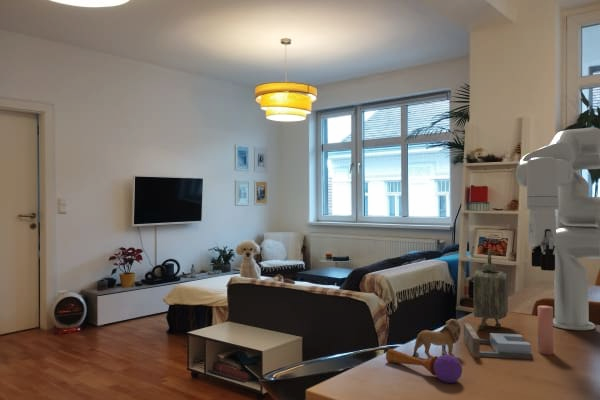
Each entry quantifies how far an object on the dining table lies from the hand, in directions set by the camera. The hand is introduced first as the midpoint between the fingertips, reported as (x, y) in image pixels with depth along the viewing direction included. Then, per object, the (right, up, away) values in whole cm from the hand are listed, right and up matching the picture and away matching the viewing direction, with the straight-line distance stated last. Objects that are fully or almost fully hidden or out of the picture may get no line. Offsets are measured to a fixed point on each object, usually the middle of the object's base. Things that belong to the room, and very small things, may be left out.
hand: (542, 268), depth 125 cm
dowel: (+1, -22, 0) cm, 22 cm away
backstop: (-11, -22, +2) cm, 25 cm away
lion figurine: (-29, -23, -2) cm, 36 cm away
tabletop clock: (-3, -23, +26) cm, 34 cm away
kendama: (-36, -23, -15) cm, 45 cm away
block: (-8, -22, +1) cm, 24 cm away
